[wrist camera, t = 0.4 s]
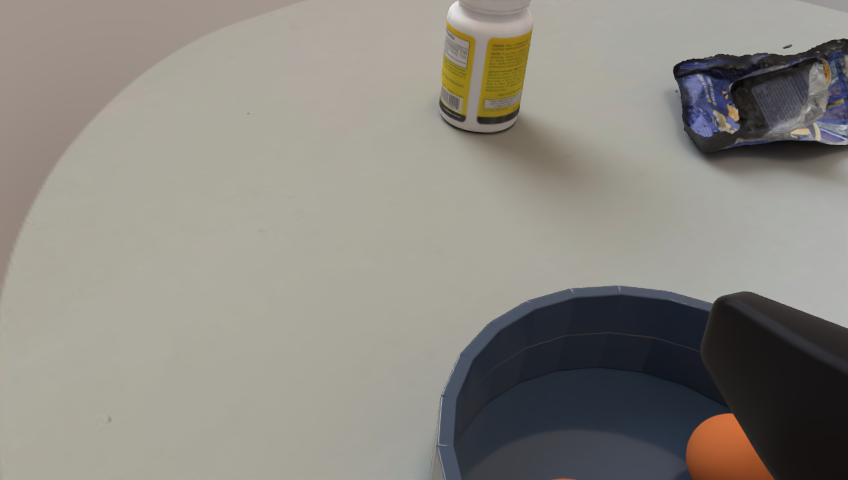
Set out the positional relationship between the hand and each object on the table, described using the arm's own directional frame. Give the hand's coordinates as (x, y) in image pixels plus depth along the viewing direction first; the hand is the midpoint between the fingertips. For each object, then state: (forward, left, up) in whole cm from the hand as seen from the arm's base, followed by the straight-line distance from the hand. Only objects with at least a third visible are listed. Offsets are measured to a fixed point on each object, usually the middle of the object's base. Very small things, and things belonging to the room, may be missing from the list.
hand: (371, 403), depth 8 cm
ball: (+4, -15, -14) cm, 21 cm away
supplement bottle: (+30, -20, -16) cm, 39 cm away
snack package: (+23, -36, -16) cm, 45 cm away
